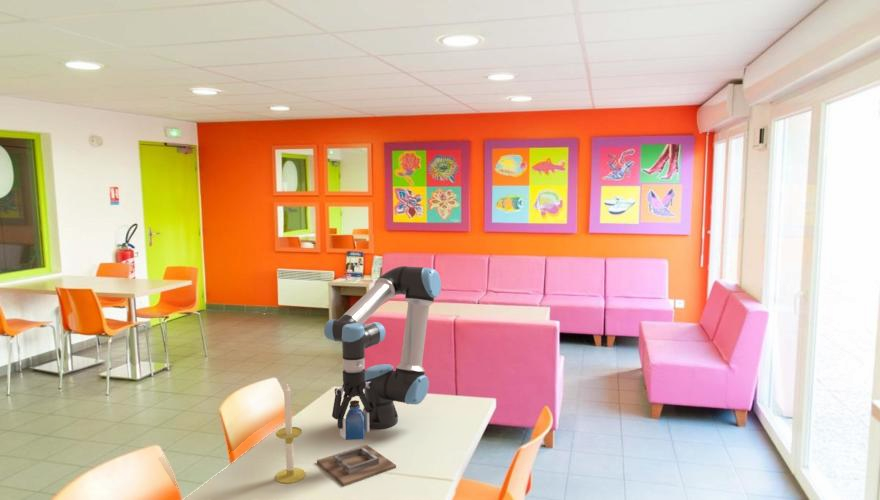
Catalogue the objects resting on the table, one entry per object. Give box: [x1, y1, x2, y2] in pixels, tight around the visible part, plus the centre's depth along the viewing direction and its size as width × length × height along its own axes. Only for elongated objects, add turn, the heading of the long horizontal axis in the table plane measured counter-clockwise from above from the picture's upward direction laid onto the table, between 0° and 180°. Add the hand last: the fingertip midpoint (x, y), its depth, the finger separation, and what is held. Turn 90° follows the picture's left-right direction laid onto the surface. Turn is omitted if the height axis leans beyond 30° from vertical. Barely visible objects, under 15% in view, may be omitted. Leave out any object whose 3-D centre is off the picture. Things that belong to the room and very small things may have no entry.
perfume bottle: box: [344, 399, 365, 441], centre depth 202 cm, size 6×6×12 cm
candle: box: [274, 383, 307, 484], centre depth 195 cm, size 10×10×32 cm
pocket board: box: [316, 444, 397, 487], centre depth 204 cm, size 20×20×3 cm
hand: (354, 433), depth 203 cm, fingers closed on perfume bottle, 8 cm apart
